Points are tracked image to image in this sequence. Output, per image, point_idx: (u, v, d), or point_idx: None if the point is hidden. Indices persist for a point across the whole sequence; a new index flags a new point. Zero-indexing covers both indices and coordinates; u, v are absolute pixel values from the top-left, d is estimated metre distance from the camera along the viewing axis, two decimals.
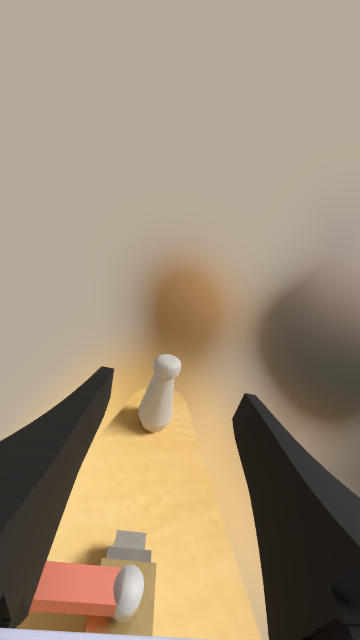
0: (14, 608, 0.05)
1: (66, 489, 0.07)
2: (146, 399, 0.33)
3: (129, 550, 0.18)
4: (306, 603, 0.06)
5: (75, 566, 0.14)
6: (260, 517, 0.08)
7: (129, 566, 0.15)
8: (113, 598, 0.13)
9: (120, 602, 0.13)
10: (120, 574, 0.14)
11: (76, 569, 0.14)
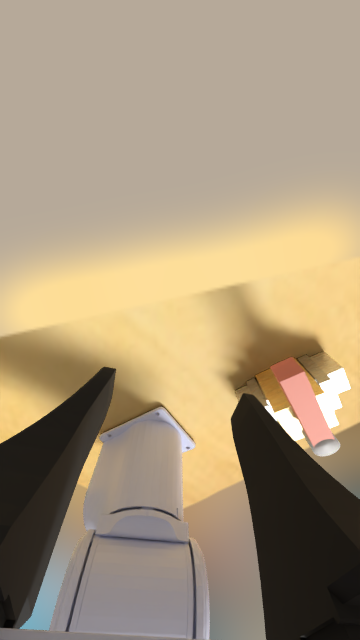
0: (18, 608, 0.05)
1: (69, 489, 0.07)
2: None
3: (335, 393, 0.19)
4: (303, 603, 0.06)
5: (321, 414, 0.14)
6: (258, 517, 0.08)
7: (337, 442, 0.16)
8: (315, 444, 0.16)
9: (315, 446, 0.16)
10: (330, 440, 0.16)
11: (320, 416, 0.14)
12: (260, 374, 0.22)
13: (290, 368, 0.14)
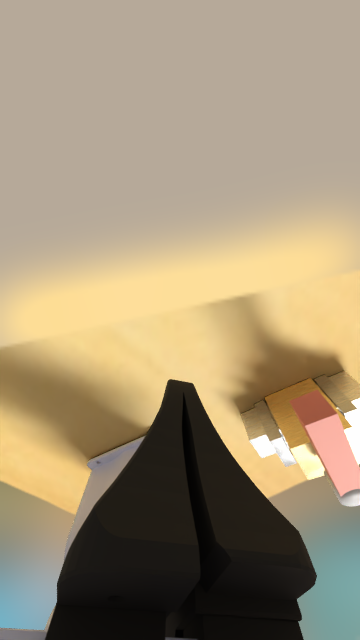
0: None
1: None
2: None
3: None
4: None
5: (354, 462, 0.11)
6: None
7: None
8: (344, 493, 0.13)
9: (342, 495, 0.13)
10: None
11: (352, 463, 0.12)
12: (270, 396, 0.19)
13: (317, 407, 0.11)
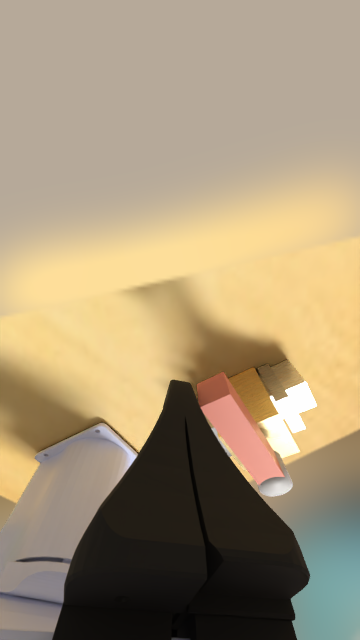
0: None
1: None
2: None
3: (296, 413, 0.15)
4: None
5: (262, 448, 0.11)
6: None
7: (289, 480, 0.12)
8: (261, 482, 0.12)
9: (261, 485, 0.13)
10: (279, 478, 0.12)
11: (261, 449, 0.11)
12: None
13: (216, 388, 0.10)
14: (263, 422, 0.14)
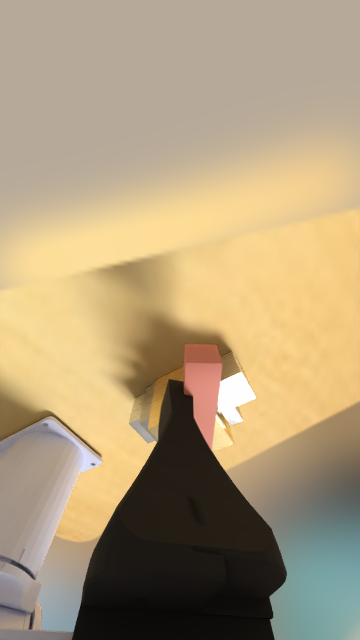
0: None
1: None
2: None
3: (230, 404, 0.15)
4: None
5: (211, 432, 0.11)
6: None
7: None
8: None
9: None
10: None
11: (208, 434, 0.11)
12: (160, 379, 0.18)
13: (207, 354, 0.10)
14: None
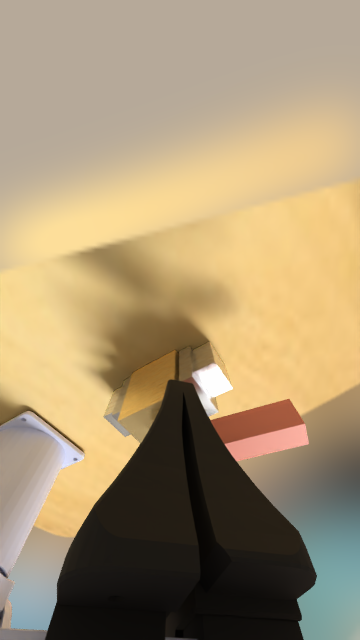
0: None
1: None
2: None
3: (204, 395, 0.14)
4: None
5: None
6: None
7: None
8: None
9: None
10: None
11: None
12: (137, 371, 0.18)
13: None
14: (159, 403, 0.13)
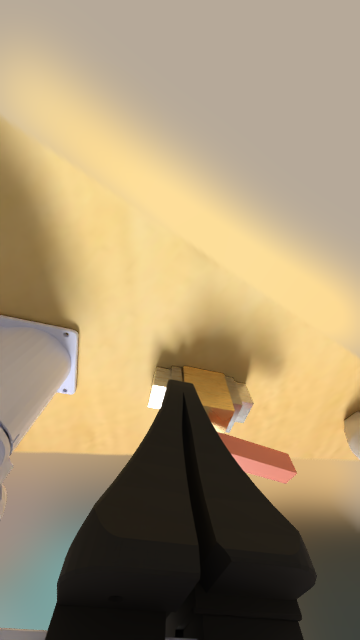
0: None
1: None
2: None
3: (234, 419, 0.20)
4: None
5: (244, 470, 0.17)
6: None
7: None
8: None
9: None
10: None
11: (243, 469, 0.17)
12: (189, 368, 0.22)
13: None
14: (221, 410, 0.18)
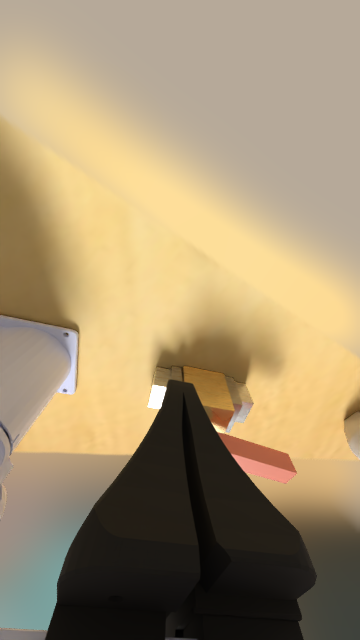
0: None
1: None
2: None
3: (234, 419, 0.20)
4: None
5: (244, 470, 0.17)
6: None
7: None
8: None
9: None
10: None
11: (243, 469, 0.17)
12: (189, 368, 0.22)
13: None
14: (221, 410, 0.18)
